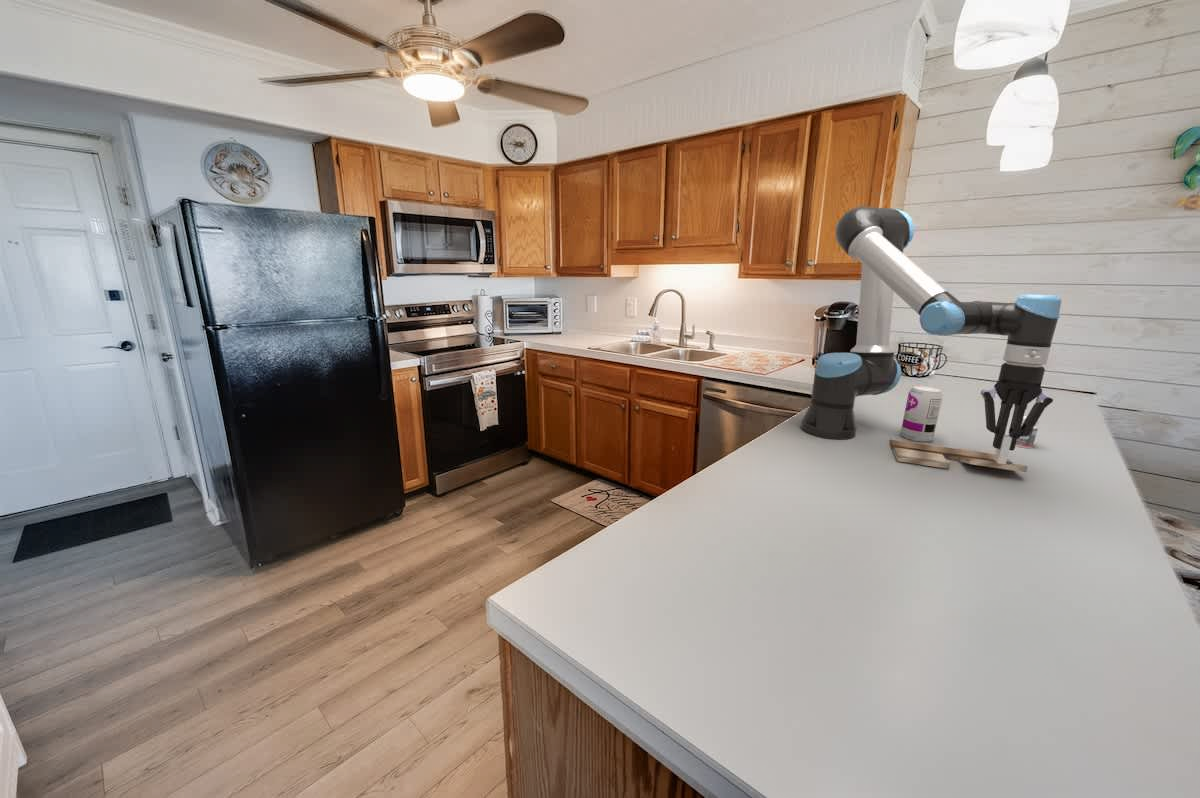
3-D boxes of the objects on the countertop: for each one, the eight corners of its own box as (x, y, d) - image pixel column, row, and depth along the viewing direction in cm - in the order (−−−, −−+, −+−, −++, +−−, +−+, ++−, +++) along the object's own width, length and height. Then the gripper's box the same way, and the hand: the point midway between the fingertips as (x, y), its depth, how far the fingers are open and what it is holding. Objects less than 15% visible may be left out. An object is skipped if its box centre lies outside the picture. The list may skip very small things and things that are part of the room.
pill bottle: (1007, 443, 138) (1014, 416, 136) (1016, 441, 140) (1023, 414, 138) (1026, 449, 134) (1034, 421, 132) (1035, 447, 136) (1043, 419, 134)
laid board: (892, 450, 130) (893, 445, 130) (889, 443, 136) (890, 438, 135) (1011, 468, 121) (1012, 462, 120) (1002, 460, 126) (1004, 454, 125)
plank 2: (969, 464, 117) (970, 457, 116) (959, 461, 124) (960, 455, 124) (1026, 472, 112) (1027, 466, 112) (1012, 469, 120) (1013, 463, 120)
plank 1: (897, 460, 122) (898, 455, 122) (893, 451, 130) (894, 446, 129) (948, 468, 118) (950, 463, 118) (941, 458, 125) (942, 453, 125)
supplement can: (904, 440, 139) (915, 390, 135) (896, 431, 146) (906, 384, 142) (937, 444, 136) (948, 393, 132) (927, 435, 144) (937, 386, 140)
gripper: (993, 363, 108) (971, 462, 113) (1068, 369, 103) (1041, 472, 108) (983, 359, 114) (962, 452, 120) (1052, 364, 109) (1027, 461, 115)
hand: (999, 461), depth 114 cm, fingers closed
